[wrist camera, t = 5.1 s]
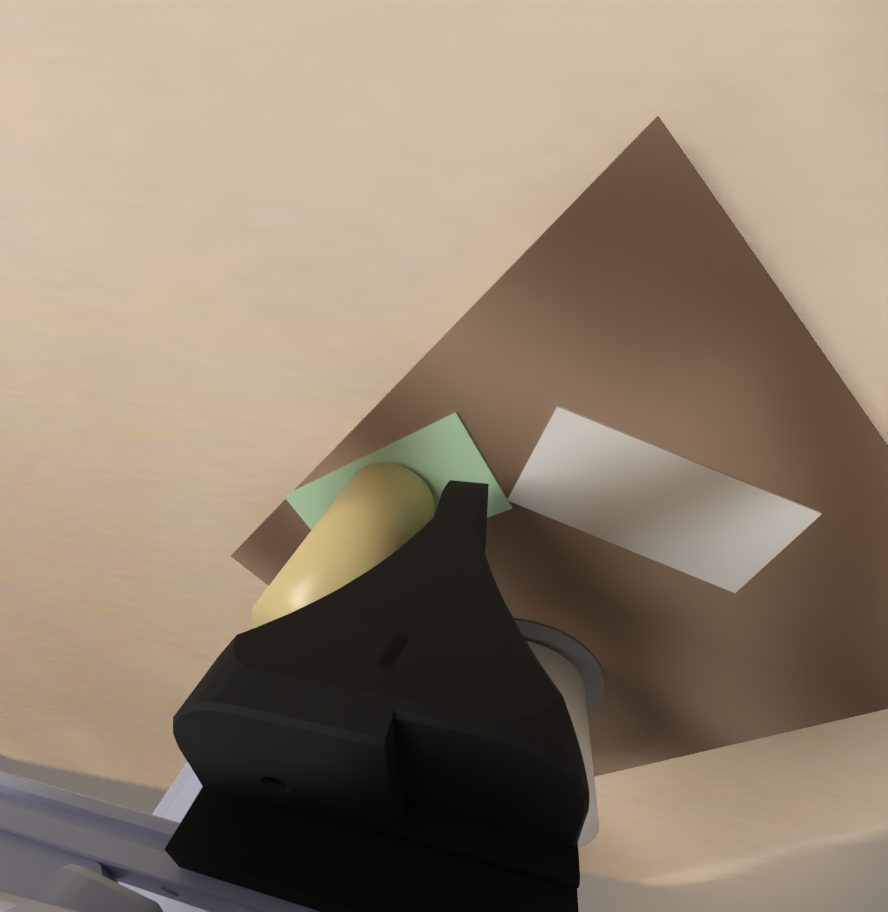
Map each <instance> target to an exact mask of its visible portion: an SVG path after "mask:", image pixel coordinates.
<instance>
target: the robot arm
mask: <svg viewBox="0 0 888 912" xmlns="http://www.w3.org/2000/svg"><path fill="white" fill-rule="evenodd" d="M488 486H489V484H485V483H475V482H464V481H454V480H450V481H449V482H448V483H447V485H446V486H445V488H444V490H443V491H442V494H441V497H440V500H439V504H438V507H437V511H436V514H435V516H434V517H433V518H432V519H431V520H430V521H429V522H428V523H427V524H426V525H425V526H424V527H423V528H421V529H420V530H419V531H418V532H417V533H416V534H415V535H414V536H413V537H411V538H410V539H409V540H408V541H407V542H406V543H405V544H404V545H402V546H401V547H400V548H399V549H397V550H396V551H395V552H394V553H392V554H391V555H390V556H388V557H387V558H386V559H384V560H383V561H382V562H380V563H379V564H378V565H376V566H375V567H373V568H372V569H370V570H369V571H367V572H365V573H364V574H362V575H361V576H359V577H357V578H356V579H354V580H353V581H351V582H349V583H348V584H346V585H344V586H343V587H341V588H339V589H337V590H336V591H334V592H332V593H330V594H328V595H326V596H324V597H322V598H321V599H319V600H317V601H314V602H312V603H310V604H308V605H306V606H304V607H302V608H300V609H298V610H296V611H294V612H292V613H289V614H287V615H285V616H282V617H280V618H278V619H275V620H273V621H270V622H268V623H266V624H263V625H261V626H258V627H256V628H254V629H251V630H249V631H246V632H244V633H241V634H238V635H236V637H235V638H234V639H233V640H232V641H231V643H230V644H229V645H228V646H227V647H226V648H225V650H224V651H223V652H222V653H221V654H220V655H219V657H218V658H217V659H216V661H215V662H214V663H213V665H212V666H211V667H210V669H209V670H208V671H207V673H206V674H205V676H204V677H203V678H202V680H201V681H200V682H199V684H198V685H197V686H196V688H195V689H194V690H193V692H192V693H191V694H190V696H189V697H188V698H187V700H186V701H185V702H184V704H183V705H182V706H181V708H180V709H179V710H178V712H177V713H176V714H175V716H174V717H173V734H174V737H175V739H176V742H177V744H178V746H179V748H180V750H181V752H182V753H183V755H184V756H185V758H186V760H187V763H186V764H185V766H184V767H183V769H182V770H181V772H180V773H179V775H178V776H177V778H176V779H175V781H174V782H173V784H172V785H171V787H170V788H169V790H168V791H167V793H166V795H165V796H164V797H163V799H162V800H161V802H160V803H159V805H158V806H157V808H156V809H155V811H154V813H153V814H152V815H151V814H148V813H144V812H141V811H138V810H134V809H131V808H127V807H124V806H120V805H117V804H114V803H110V802H106V801H103V800H100V799H97V798H93V797H90V796H86V795H83V794H79V793H76V792H73V791H69V790H66V789H62V788H59V787H55V786H52V785H49V784H45V783H42V782H38V781H35V780H31V779H28V778H24V777H21V776H18V775H14V774H11V773H7V772H4V771H0V912H578V899H577V888H578V887H579V881H580V871H579V855H578V840H579V837H580V834H581V831H582V828H583V825H584V822H585V819H586V816H587V813H588V810H589V786H588V780H587V775H586V770H585V765H584V761H583V757H582V753H581V749H580V746H579V742H578V739H577V736H576V733H575V729H574V726H573V723H572V720H571V717H570V715H569V712H568V709H567V706H566V703H565V700H564V697H563V695H562V694H561V692H560V691H559V690H558V688H557V687H556V685H555V684H554V683H553V681H552V680H551V678H550V677H549V676H548V674H547V673H546V671H545V670H544V668H543V667H542V665H541V664H540V662H539V661H538V659H537V658H536V656H535V655H534V653H533V651H532V650H531V648H530V646H529V645H528V643H527V642H526V640H525V638H524V637H523V635H522V633H521V632H520V630H519V628H518V626H517V624H516V622H515V620H514V619H513V617H512V615H511V613H510V611H509V609H508V607H507V606H506V604H505V602H504V600H503V597H502V595H501V593H500V591H499V589H498V586H497V584H496V582H495V579H494V577H493V574H492V572H491V569H490V567H489V564H488V561H487V558H486V555H485V547H486V531H487V508H488ZM118 881H119V883H118Z"/></svg>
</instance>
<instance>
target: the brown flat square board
mask: <svg viewBox="0 0 888 912" xmlns="http://www.w3.org/2000/svg"><path fill="white" fill-rule="evenodd" d="M380 462H385V463H393V464H397V465H400V466H403V467H405V468H407V469H409V470H411V471H412V472H414V473H415V474H417V475H418V476H419V477H420V478H421V479H422V480H423V481H424V482H425V483H426V485H427V486H428V487H429V489H430V491H431V493H432V496H433V499H434V504H435V511H434V516H435V514H436V511H437V507H438V504H439V500H440V497H441V494H442V491H443V490H444V488H445V486H446V485H447V483H448V482H449V481H450V480H454V481H464V482H475V483H485V484H489V486H488V508H487V531H486V547H485V555H486V558H487V561H488V564H489V567H490V569H491V572H492V574H493V577H494V579H495V582H496V584H497V586H498V589H499V591H500V593H501V595H502V597H503V600H504V602H505V604H506V606H507V607H508V609H509V611H510V613H511V615H512V617H513V619H514V620H515V622H516V624H517V626H518V628H519V630H520V632H521V633H522V635H523V637H524V638H525V640H526V641H529V642H533V643H536V644H540V645H542V646H545V647H547V648H550V649H552V650H553V651H555V652H557V653H559V654H560V655H562V656H563V657H565V658H566V659H567V660H568V661H570V662H571V663H572V664H573V665H574V666H575V667H576V669H577V670H578V671H579V673H580V675H581V677H582V679H583V682H584V686H585V696H586V705H587V715H588V724H589V734H590V743H591V753H592V762H593V772H594V776H598V775H603V774H607V773H611V772H616V771H620V770H624V769H629V768H633V767H637V766H642V765H646V764H650V763H655V762H659V761H663V760H668V759H672V758H676V757H681V756H685V755H689V754H694V753H698V752H702V751H706V750H711V749H715V748H719V747H724V746H728V745H732V744H737V743H741V742H745V741H750V740H754V739H758V738H763V737H767V736H771V735H776V734H780V733H784V732H789V731H793V730H797V729H802V728H806V727H810V726H815V725H819V724H823V723H828V722H832V721H836V720H841V719H845V718H849V717H853V716H858V715H862V714H866V713H871V712H875V711H879V710H884V709H888V445H887V444H886V442H885V441H884V440H883V438H882V437H881V435H880V434H879V432H878V431H877V429H876V428H875V427H874V425H873V424H872V422H871V421H870V419H869V418H868V417H867V415H866V414H865V412H864V411H863V409H862V408H861V406H860V405H859V404H858V402H857V401H856V399H855V398H854V396H853V395H852V394H851V392H850V391H849V389H848V388H847V386H846V385H845V384H844V382H843V381H842V379H841V378H840V376H839V375H838V373H837V372H836V371H835V369H834V368H833V366H832V365H831V363H830V362H829V361H828V359H827V358H826V356H825V355H824V353H823V352H822V350H821V349H820V348H819V346H818V345H817V343H816V342H815V340H814V339H813V338H812V336H811V335H810V333H809V332H808V330H807V329H806V327H805V326H804V325H803V323H802V322H801V320H800V319H799V317H798V316H797V315H796V313H795V312H794V310H793V309H792V307H791V306H790V305H789V303H788V302H787V300H786V299H785V297H784V296H783V294H782V293H781V292H780V290H779V289H778V287H777V286H776V284H775V283H774V282H773V280H772V279H771V277H770V276H769V274H768V273H767V271H766V270H765V269H764V267H763V266H762V264H761V263H760V261H759V260H758V259H757V257H756V256H755V254H754V253H753V251H752V250H751V248H750V247H749V246H748V244H747V243H746V241H745V240H744V238H743V237H742V236H741V234H740V233H739V231H738V230H737V228H736V227H735V225H734V224H733V223H732V221H731V220H730V218H729V217H728V215H727V214H726V213H725V211H724V210H723V208H722V207H721V205H720V204H719V203H718V201H717V200H716V198H715V197H714V195H713V194H712V192H711V191H710V190H709V188H708V187H707V185H706V184H705V182H704V181H703V180H702V178H701V177H700V175H699V174H698V172H697V171H696V169H695V168H694V167H693V165H692V164H691V162H690V161H689V159H688V158H687V157H686V155H685V154H684V152H683V151H682V149H681V148H680V146H679V145H678V144H677V142H676V141H675V139H674V138H673V136H672V135H671V134H670V132H669V131H668V129H667V128H666V126H665V125H664V124H663V122H662V121H661V119H660V118H659V116H657V117H656V118H655V119H654V120H653V121H652V122H651V123H650V124H649V125H648V126H647V127H646V128H645V129H644V130H643V131H642V133H641V134H640V135H639V136H638V137H637V138H636V139H635V140H634V141H633V142H632V143H631V144H630V145H629V146H628V147H627V148H626V149H625V150H624V151H623V152H622V153H621V154H620V155H619V156H618V157H617V158H616V159H615V160H614V161H613V162H612V163H611V164H610V165H609V167H608V168H607V169H606V170H605V171H604V172H603V173H602V174H601V175H600V176H599V177H598V178H597V179H596V180H595V181H594V182H593V183H592V184H591V185H590V186H589V187H588V188H587V189H586V190H585V191H584V192H583V193H582V194H581V195H580V196H579V197H578V198H577V200H576V201H575V202H574V203H573V204H572V205H571V206H570V207H569V208H568V209H567V210H566V211H565V212H564V213H563V214H562V215H561V216H560V217H559V218H558V219H557V220H556V221H555V222H554V223H553V224H552V225H551V226H550V227H549V228H548V229H547V230H546V231H545V232H544V234H543V235H542V236H541V237H540V238H539V239H538V240H537V241H536V242H535V243H534V244H533V245H532V246H531V247H530V248H529V249H528V250H527V251H526V252H525V253H524V254H523V255H522V256H521V257H520V258H519V259H518V260H517V261H516V262H515V263H514V264H513V265H512V266H511V268H510V269H509V270H508V271H507V272H506V273H505V274H504V275H503V276H502V277H501V278H500V279H499V280H498V281H497V282H496V283H495V284H494V285H493V286H492V287H491V288H490V289H489V290H488V291H487V292H486V293H485V294H484V295H483V296H482V297H481V298H480V299H479V300H478V302H477V303H476V304H475V305H474V306H473V307H472V308H471V309H470V310H469V311H468V312H467V313H466V314H465V315H464V316H463V317H462V318H461V319H460V320H459V321H458V322H457V323H456V324H455V325H454V326H453V327H452V328H451V329H450V330H449V331H448V332H447V333H446V335H445V336H444V337H443V338H442V339H441V340H440V341H439V342H438V343H437V344H436V345H435V346H434V347H433V348H432V349H431V350H430V351H429V352H428V353H427V354H426V355H425V356H424V357H423V358H422V359H421V360H420V361H419V362H418V363H417V364H416V365H415V366H414V367H413V369H412V370H411V371H410V372H409V373H408V374H407V375H406V376H405V377H404V378H403V379H402V380H401V381H400V382H399V383H398V384H397V385H396V386H395V387H394V388H393V389H392V390H391V391H390V392H389V393H388V394H387V395H386V396H385V397H384V398H383V399H382V400H381V401H380V403H379V404H378V405H377V406H376V407H375V408H374V409H373V410H372V411H371V412H370V413H369V414H368V415H367V416H366V417H365V418H364V419H363V420H362V421H361V422H360V423H359V424H358V425H357V426H356V427H355V428H354V429H353V430H352V431H351V432H350V433H349V434H348V436H347V437H346V438H345V439H344V440H343V441H342V442H341V443H340V444H339V445H338V446H337V447H336V448H335V449H334V450H333V451H332V452H331V453H330V454H329V455H328V456H327V457H326V458H325V459H324V460H323V461H322V462H321V463H320V464H319V465H318V466H317V467H316V468H315V470H314V471H313V472H312V473H311V474H310V475H309V476H308V477H307V478H306V479H305V480H304V481H303V482H302V483H301V484H300V485H299V486H298V487H297V488H296V489H295V490H294V491H292V492H290V493H288V494H286V495H284V497H285V500H284V501H283V502H282V504H281V505H280V506H279V507H278V508H277V509H276V510H275V511H274V512H273V513H272V514H271V515H270V516H269V517H268V518H267V519H266V520H265V521H264V522H263V523H262V524H261V525H260V526H259V527H258V528H257V529H256V530H255V531H254V532H253V533H252V534H251V535H250V536H249V538H248V539H247V540H246V541H245V542H244V543H243V544H242V545H241V546H240V547H239V548H238V549H237V550H236V551H235V552H234V553H233V554H232V555H231V557H232V558H234V559H235V560H236V561H238V562H239V563H240V564H241V565H243V566H244V567H245V568H247V569H248V570H249V571H251V572H252V573H253V574H254V575H256V576H257V577H258V578H260V579H261V580H262V581H263V582H265V583H266V584H267V585H270V584H271V582H272V581H273V580H274V578H275V577H276V576H277V575H278V573H279V572H280V571H281V569H282V568H283V567H284V565H285V564H286V563H287V562H288V560H289V559H290V558H291V556H292V555H293V554H294V552H295V551H296V550H297V549H298V547H299V546H300V545H301V543H302V542H303V541H304V539H305V538H306V537H307V535H308V534H309V533H310V532H311V530H312V529H313V528H314V526H315V525H316V524H317V522H318V521H319V520H320V519H321V517H322V516H323V515H324V513H325V512H326V511H327V509H328V508H329V507H330V506H331V504H332V503H333V502H334V500H335V499H336V498H337V496H338V495H339V494H340V493H341V491H342V490H343V489H344V487H345V486H346V485H347V483H348V482H349V481H350V480H351V478H352V477H353V476H354V474H355V473H356V472H357V471H358V470H360V469H361V468H363V467H365V466H367V465H369V464H373V463H380ZM434 516H433V517H434Z"/></svg>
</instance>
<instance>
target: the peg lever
mask: <svg viewBox="0 0 888 912" xmlns="http://www.w3.org/2000/svg"><path fill="white" fill-rule="evenodd" d="M434 511H435V504H434V499H433V496H432V493H431V491H430V489H429V487H428V486H427V485H426V483H425V482H424V481H423V480H422V479H421V478H420V477H419V476H418V475H417V474H415V473H414V472H412V471H411V470H409V469H407V468H405V467H403V466H400V465H397V464H393V463H385V462H380V463H373V464H369V465H367V466H365V467H363V468H361V469H360V470H358V471H357V472H356V473H355V474H354V476H353V477H352V478H351V480H350V481H349V482H348V483H347V485H346V486H345V487H344V489H343V490H342V491H341V493H340V494H339V495H338V496H337V498H336V499H335V500H334V502H333V503H332V504H331V506H330V507H329V508H328V509H327V511H326V512H325V513H324V515H323V516H322V517H321V519H320V520H319V521H318V522H317V524H316V525H315V526H314V528H313V529H312V530H311V532H310V533H309V534H308V535H307V537H306V538H305V539H304V541H303V542H302V543H301V545H300V546H299V547H298V549H297V550H296V551H295V552H294V554H293V555H292V556H291V558H290V559H289V560H288V562H287V563H286V564H285V565H284V567H283V568H282V569H281V571H280V572H279V573H278V575H277V576H276V577H275V578H274V580H273V581H272V582H271V584H270V585H269V586H268V588H267V589H266V590H265V591H264V593H263V594H262V595H261V597H260V598H259V599H258V601H257V602H256V603H255V605H254V607H253V609H252V612H251V624H252V628H253V629H254V628H256V627H258V626H261V625H263V624H266V623H268V622H270V621H273V620H275V619H278V618H280V617H282V616H285V615H287V614H289V613H292V612H294V611H296V610H298V609H300V608H302V607H304V606H306V605H308V604H310V603H312V602H314V601H317V600H319V599H321V598H322V597H324V596H326V595H328V594H330V593H332V592H334V591H336V590H337V589H339V588H341V587H343V586H344V585H346V584H348V583H349V582H351V581H353V580H354V579H356V578H357V577H359V576H361V575H362V574H364V573H365V572H367V571H369V570H370V569H372V568H373V567H375V566H376V565H378V564H379V563H380V562H382V561H383V560H384V559H386V558H387V557H388V556H390V555H391V554H392V553H394V552H395V551H396V550H397V549H399V548H400V547H401V546H402V545H404V544H405V543H406V542H407V541H408V540H409V539H410V538H411V537H413V536H414V535H415V534H416V533H417V532H418V531H419V530H420V529H421V528H423V527H424V526H425V525H426V524H427V523H428V522H429V521H430V520H431V519H432V518H433V516H434ZM526 642H527V643H528V645H529V646H530V648H531V650H532V651H533V653H534V655H535V656H536V658H537V659H538V661H539V662H540V664H541V665H542V667H543V668H544V670H545V671H546V673H547V674H548V676H549V677H550V678H551V680H552V681H553V683H554V684H555V685H556V687H557V688H558V690H559V691H560V692H561V694H562V695H563V697H564V700H565V703H566V706H567V709H568V712H569V715H570V717H571V720H572V723H573V726H574V729H575V733H576V736H577V739H578V742H579V746H580V749H581V753H582V757H583V761H584V765H585V770H586V775H587V780H588V786H589V810H588V813H587V816H586V819H585V822H584V825H583V828H582V831H581V834H580V837H579V840H578V848H579V847H581V846H583V845H586V844H587V843H589V842H590V841H591V840H592V839H594V838H595V836H596V835H597V833H598V829H599V819H598V810H597V800H596V791H595V781H594V772H593V762H592V753H591V743H590V734H589V724H588V715H587V705H586V696H585V686H584V682H583V679H582V677H581V675H580V673H579V671H578V670H577V669H576V667H575V666H574V665H573V664H572V663H571V662H570V661H568V660H567V659H566V658H565V657H563V656H562V655H560V654H559V653H557V652H555V651H553V650H552V649H550V648H547V647H545V646H542V645H540V644H536V643H533V642H529V641H526Z"/></svg>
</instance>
